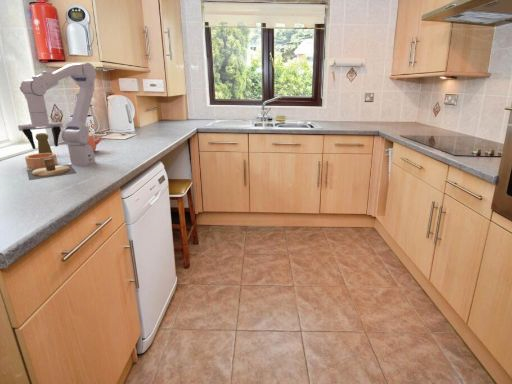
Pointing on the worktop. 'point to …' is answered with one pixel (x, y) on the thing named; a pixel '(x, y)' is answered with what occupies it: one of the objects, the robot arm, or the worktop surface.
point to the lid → (50, 169)
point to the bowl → (39, 160)
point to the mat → (32, 177)
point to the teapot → (93, 141)
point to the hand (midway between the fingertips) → (45, 147)
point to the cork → (43, 143)
